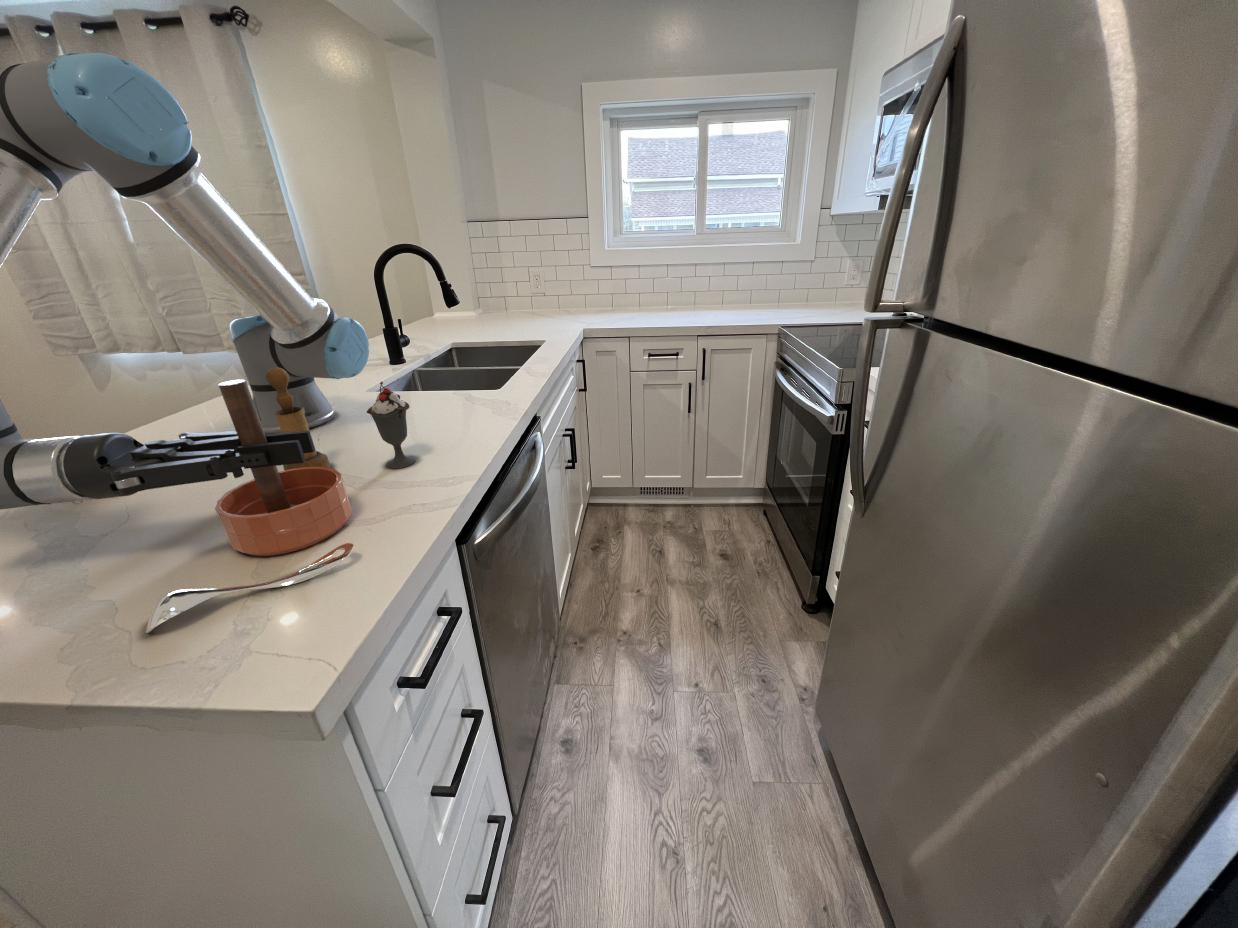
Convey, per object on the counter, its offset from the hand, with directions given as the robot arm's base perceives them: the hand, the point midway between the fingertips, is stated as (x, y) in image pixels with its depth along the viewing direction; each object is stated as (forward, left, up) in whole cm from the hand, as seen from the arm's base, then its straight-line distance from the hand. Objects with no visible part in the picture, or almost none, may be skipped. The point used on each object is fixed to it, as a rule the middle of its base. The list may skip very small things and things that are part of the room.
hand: (306, 446), depth 61 cm
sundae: (-22, +4, -13) cm, 26 cm away
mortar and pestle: (-22, -11, -13) cm, 27 cm away
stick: (0, -5, -10) cm, 11 cm away
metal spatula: (+12, -4, -13) cm, 18 cm away
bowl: (-2, -6, -12) cm, 14 cm away
